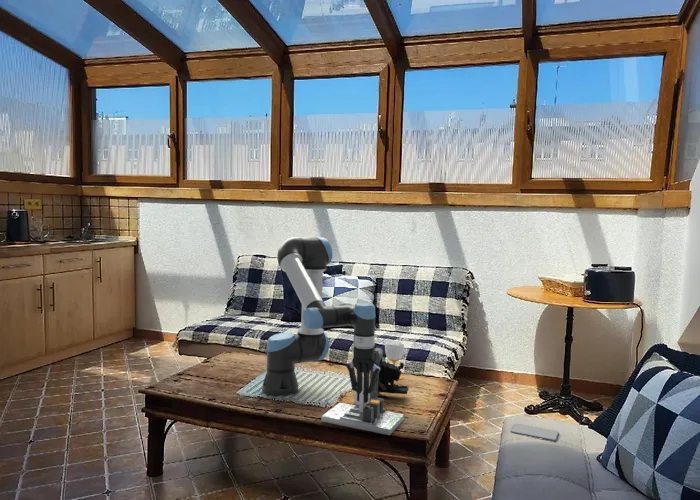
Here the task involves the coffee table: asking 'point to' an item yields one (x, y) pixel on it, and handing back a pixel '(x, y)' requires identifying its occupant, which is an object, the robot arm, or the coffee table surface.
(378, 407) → the breaker
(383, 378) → the vintage camera
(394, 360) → the cup
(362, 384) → the beverage can
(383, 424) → the breaker panel
